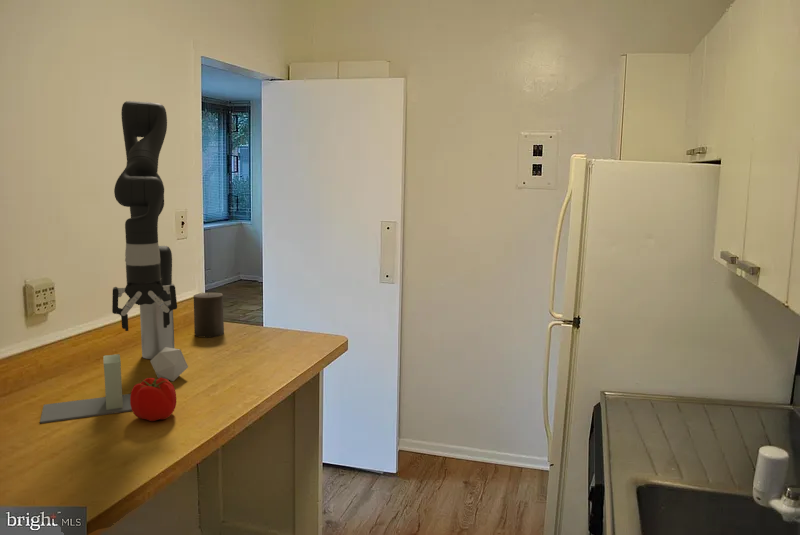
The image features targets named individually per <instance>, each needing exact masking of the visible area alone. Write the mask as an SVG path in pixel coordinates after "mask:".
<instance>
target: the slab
mask: <svg viewBox="0 0 800 535" xmlns="http://www.w3.org/2000/svg"><path fill="white" fill-rule="evenodd" d="M102 358H103V360H102V361H103V371H104V372H103V373H104V374H103V375H104V390H105V391H104V392H105V397H106V410H108V409H116V408H123V401H122V395H123V386H122V385H123V384H122V365H121V364H122V363H121V362H122V360H121V355H120V353H119V354H109V355H103V357H102Z"/></svg>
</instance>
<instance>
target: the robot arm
mask: <svg viewBox="0 0 800 535" xmlns="http://www.w3.org/2000/svg"><path fill="white" fill-rule="evenodd" d="M120 116H121V124H122V133H123V141H124V146H125V155H126V156H125V157H126V166H125V168H124V169H123V171H122V172H121V174H120V175H119V176H118V178H117V180H116V182H115V185H114V188H113V190H114V193H113V194H114V198H115V199H116V202H117V203H118V204H119V205H121V206H122V207H127V208H129V213H130V218H127V219H126V220H125V223H124V228H125V230H124V232H125V253H124V258H125V259H124V262H125V273H126V274H125V275H126V286H125V287H117V286H114V287H112V306H111V307H112V308H111V309H112V314H114V315H115V314H116V315H119V316H120V317H121V318H120V319H121V328H122V329H123V330H124V331H125V332H129V316H128V313H129V312H130V310H131V309H132V308H133V307H134V305H138V306H139V316H140V319H139V320H140V334H141V335H140V336H141V356H142V358H143V359H146V360H152V359H153V358H154V357H155V356H156V355H157V354H158V353H159V352H160V351H162V350H163V349H164V348H165V347H168V348H174V349H176V347H175V324H174V310H177V309H178V304H177V302H178V301H177V291H176V286H175V284H174V283H173V281H172V279H173V253H172V249H171V248H170V246H167V245H159V233H158V232H159V231H158V228H159V226H158V225H159V223H158V222H159V217H160V216H161V214H162V211H163V210H164V207H165V186H164V182H163V180H162V178H161V176H160V175H159V174H158V171H159V170H158V169H159V167H158V166H159V157H160V153H161V150H162V147H163V144H164V142H165V138H166V134H167V128H168V116H167V111H166V108H165V106H164V104H162V103H159V102H149V101H135V100H133V101H131V100H128V101H127V100H126V101H125V102H123V103H122V106H121V114H120ZM138 138H140V140H138ZM124 293H125V294H126V295H127V296H128V300H127V301H126V303H125V304H124V305H123V307H122V308H120V307H119V298H121V297H122V296H123V294H124Z"/></svg>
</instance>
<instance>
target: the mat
mask: <svg viewBox="0 0 800 535" xmlns="http://www.w3.org/2000/svg"><path fill="white" fill-rule="evenodd" d="M130 396H131V393H127V394H122V401H123V408H116V409H108V410H106V396H103V397H102V396H101V397H93V398H86V399H79V400H71V401H70V400H69V401H62V402H56V403H55V402H54V403H45V404H43V407H42V411H41V416H40V420H39V423H40V424H46V423H51V422H52V423H53V422H60V421H67V420H76V419H82V418H90V417H96V416H104V415H111V414H119V413H126V412H133V411H132V409H131V405H130Z"/></svg>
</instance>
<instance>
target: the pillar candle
mask: <svg viewBox="0 0 800 535" xmlns="http://www.w3.org/2000/svg"><path fill="white" fill-rule="evenodd" d="M223 294H224V293H221V292H209V291H208V290H207V291H206V292H200V293H196V294H193V322H194V323H193V324H194V326H193V328H194V332H193V333H194V335H195V337H199V338H216V337H219V336H223V335H224V334H225V324H224V321H225V320H224V318H225V317H224V295H223Z"/></svg>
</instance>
